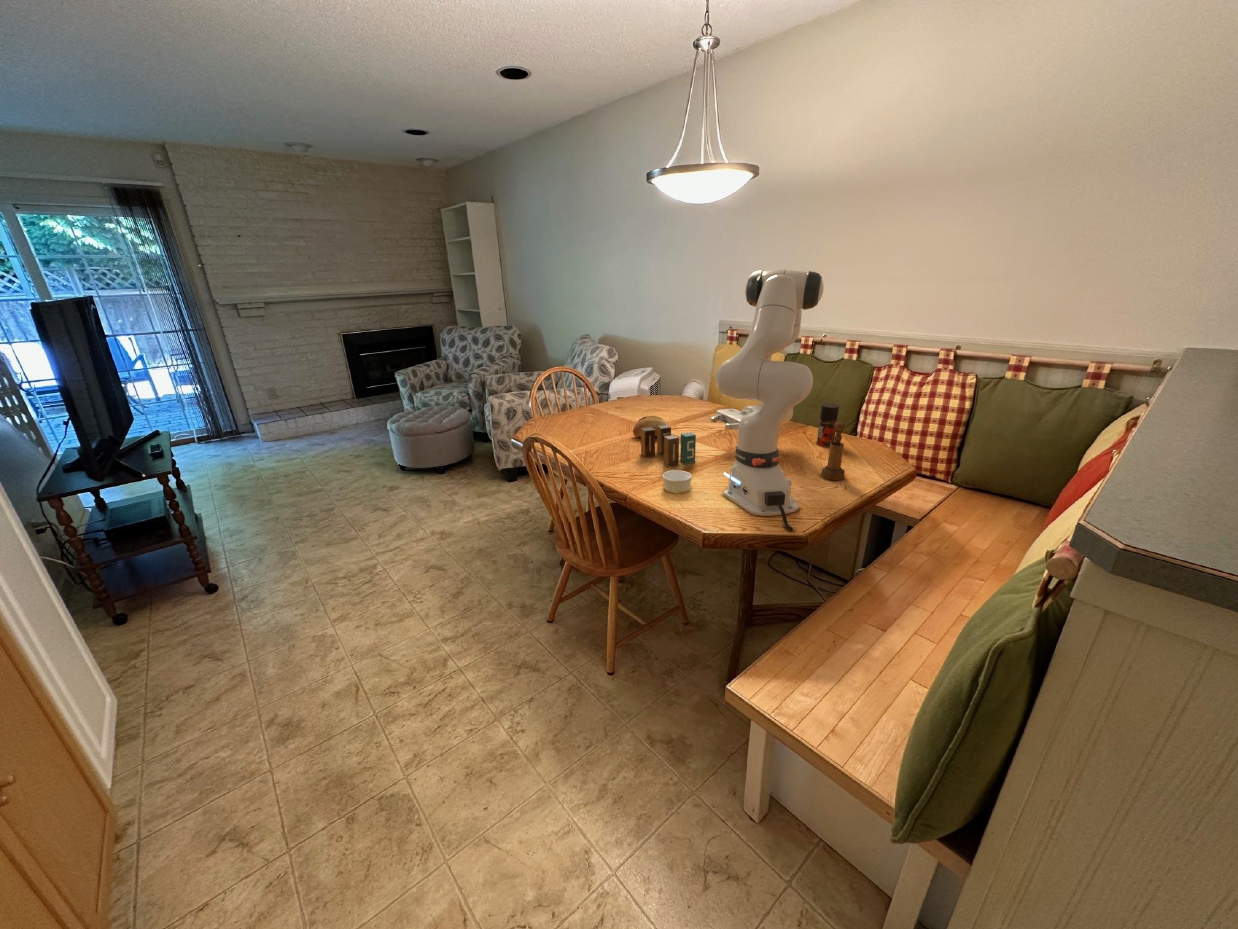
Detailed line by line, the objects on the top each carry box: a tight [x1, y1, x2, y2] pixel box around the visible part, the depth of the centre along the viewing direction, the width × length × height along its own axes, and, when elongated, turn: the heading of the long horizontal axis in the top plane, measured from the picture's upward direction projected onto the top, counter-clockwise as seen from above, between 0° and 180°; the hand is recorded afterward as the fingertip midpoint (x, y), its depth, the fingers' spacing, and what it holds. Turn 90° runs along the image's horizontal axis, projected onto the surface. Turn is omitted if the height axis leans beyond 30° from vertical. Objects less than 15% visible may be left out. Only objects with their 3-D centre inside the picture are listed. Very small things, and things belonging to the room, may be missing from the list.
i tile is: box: [663, 434, 680, 468], centre depth 164 cm, size 4×4×10 cm
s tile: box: [679, 431, 697, 465], centre depth 166 cm, size 4×4×10 cm
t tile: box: [656, 424, 672, 455], centre depth 175 cm, size 4×4×10 cm
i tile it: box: [640, 427, 656, 458], centre depth 173 cm, size 4×4×10 cm
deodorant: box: [816, 402, 840, 448], centre depth 177 cm, size 6×6×15 cm
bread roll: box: [632, 415, 668, 438], centre depth 194 cm, size 10×15×8 cm, turn 97°
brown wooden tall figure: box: [820, 421, 846, 481], centre depth 148 cm, size 7×6×18 cm
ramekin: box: [662, 469, 693, 494], centre depth 146 cm, size 9×9×4 cm
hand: (718, 423), depth 168 cm, fingers open, 8 cm apart
